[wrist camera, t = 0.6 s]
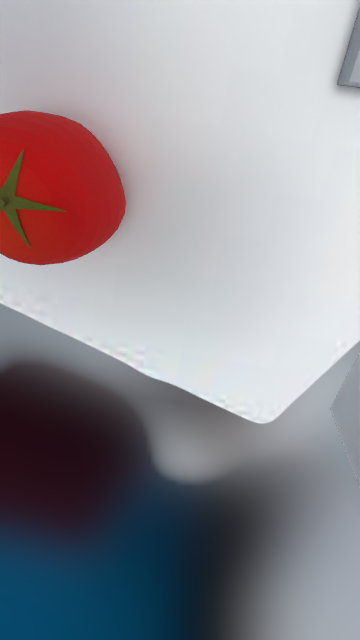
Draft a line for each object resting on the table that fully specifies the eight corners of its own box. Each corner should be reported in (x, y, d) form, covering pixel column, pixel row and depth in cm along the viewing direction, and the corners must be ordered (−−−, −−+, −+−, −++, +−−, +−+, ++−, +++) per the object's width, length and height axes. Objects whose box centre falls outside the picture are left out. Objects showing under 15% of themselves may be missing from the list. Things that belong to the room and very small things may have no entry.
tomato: (156, 153, 32) (120, 179, 20) (113, 253, 38) (65, 319, 26) (29, 79, 30) (-98, 58, 18) (4, 197, 36) (-105, 241, 24)
